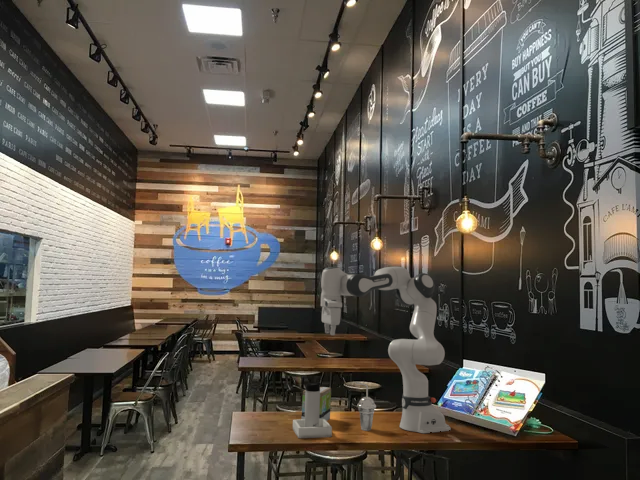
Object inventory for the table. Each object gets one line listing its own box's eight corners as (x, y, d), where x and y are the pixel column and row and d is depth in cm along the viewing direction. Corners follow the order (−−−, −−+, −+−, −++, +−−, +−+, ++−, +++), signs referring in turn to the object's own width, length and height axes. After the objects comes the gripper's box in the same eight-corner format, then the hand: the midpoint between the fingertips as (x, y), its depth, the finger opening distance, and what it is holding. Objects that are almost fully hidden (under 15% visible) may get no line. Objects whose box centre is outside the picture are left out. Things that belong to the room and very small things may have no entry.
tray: (324, 428, 223) (324, 418, 224) (331, 437, 210) (331, 427, 210) (292, 429, 220) (292, 419, 221) (298, 438, 207) (298, 428, 207)
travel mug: (318, 433, 211) (319, 384, 213) (302, 431, 213) (304, 383, 215) (321, 429, 217) (322, 381, 220) (306, 428, 219) (307, 380, 221)
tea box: (322, 426, 226) (322, 392, 228) (300, 424, 229) (301, 390, 231) (330, 418, 241) (331, 386, 242) (310, 416, 243) (311, 385, 245)
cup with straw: (367, 432, 217) (367, 385, 219) (351, 428, 224) (352, 382, 226) (379, 429, 223) (380, 383, 225) (364, 425, 230) (365, 380, 232)
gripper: (318, 302, 236) (317, 332, 234) (329, 303, 216) (328, 336, 214) (331, 302, 237) (331, 332, 236) (343, 303, 217) (342, 336, 216)
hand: (329, 334), depth 225 cm, fingers open, 8 cm apart
